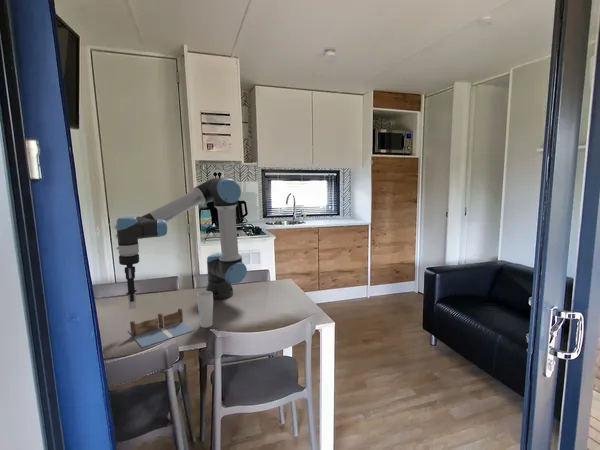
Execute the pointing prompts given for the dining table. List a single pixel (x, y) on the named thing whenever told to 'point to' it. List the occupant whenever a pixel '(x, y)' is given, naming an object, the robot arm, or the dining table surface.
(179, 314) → the fence fixed
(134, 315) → the dining table surface
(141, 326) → the fence panel
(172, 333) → the mat
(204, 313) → the drinking glass
